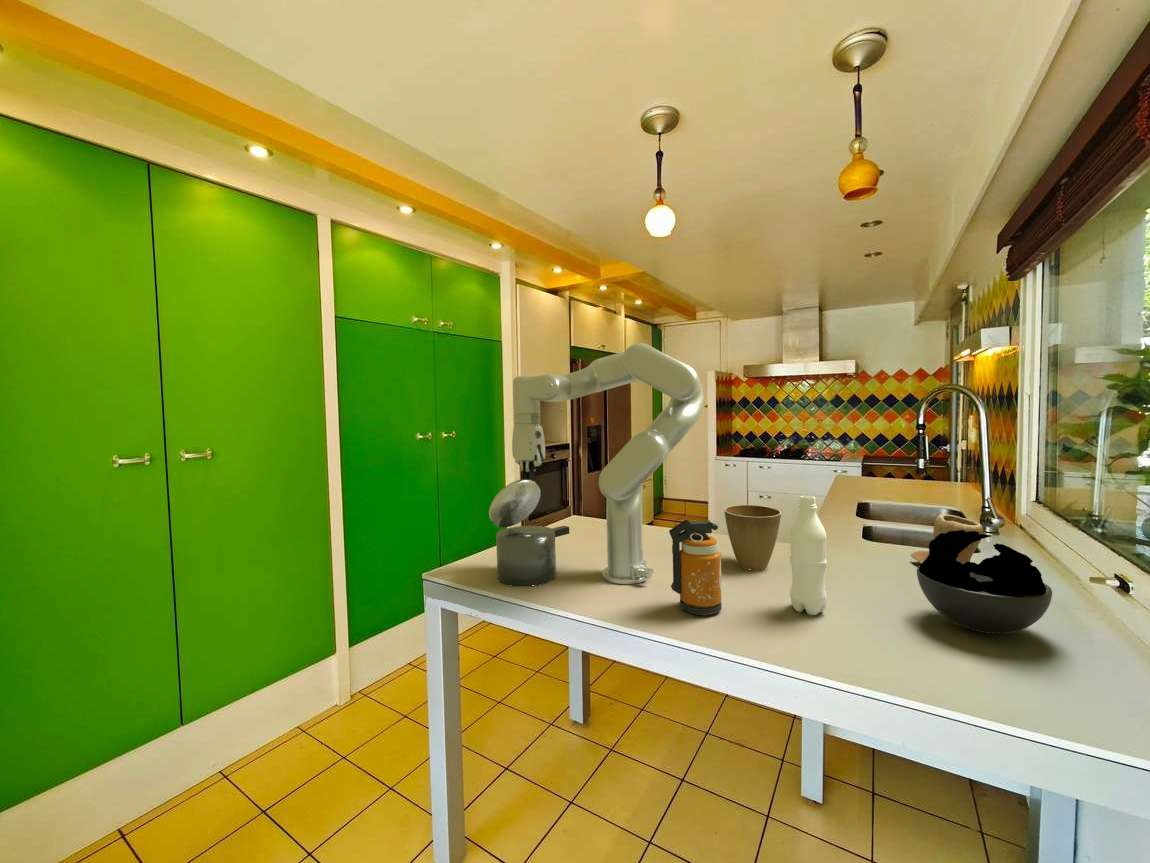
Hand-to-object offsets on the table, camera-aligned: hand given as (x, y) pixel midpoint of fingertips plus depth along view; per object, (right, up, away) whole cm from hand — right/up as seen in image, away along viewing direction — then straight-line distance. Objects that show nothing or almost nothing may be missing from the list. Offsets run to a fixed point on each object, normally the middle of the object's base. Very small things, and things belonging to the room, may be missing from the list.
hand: (528, 485), depth 133 cm
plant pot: (+63, -23, -1) cm, 67 cm away
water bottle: (+64, -24, -30) cm, 75 cm away
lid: (-3, -5, -2) cm, 6 cm away
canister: (+40, -25, -28) cm, 55 cm away
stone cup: (+112, -22, -9) cm, 114 cm away
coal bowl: (+93, -24, -40) cm, 104 cm away
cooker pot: (+2, -24, -1) cm, 24 cm away
